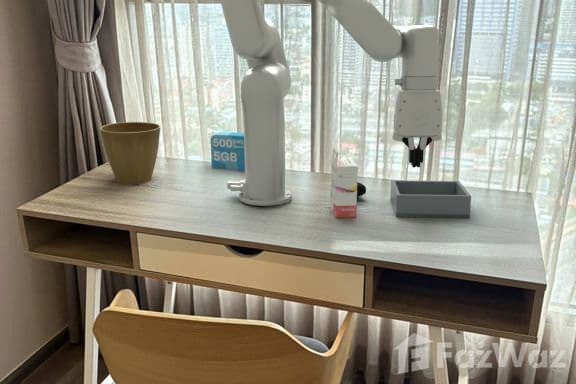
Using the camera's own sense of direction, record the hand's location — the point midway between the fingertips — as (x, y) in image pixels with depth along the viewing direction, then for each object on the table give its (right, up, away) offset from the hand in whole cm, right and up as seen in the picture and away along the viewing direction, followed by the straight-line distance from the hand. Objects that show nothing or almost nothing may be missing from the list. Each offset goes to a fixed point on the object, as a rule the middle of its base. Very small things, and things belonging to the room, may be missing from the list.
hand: (415, 165), depth 137 cm
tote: (+3, -10, +3) cm, 11 cm away
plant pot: (-69, -5, +22) cm, 73 cm away
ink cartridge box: (-16, -11, +1) cm, 20 cm away
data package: (-44, -2, +32) cm, 54 cm away
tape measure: (-11, -7, +10) cm, 17 cm away
